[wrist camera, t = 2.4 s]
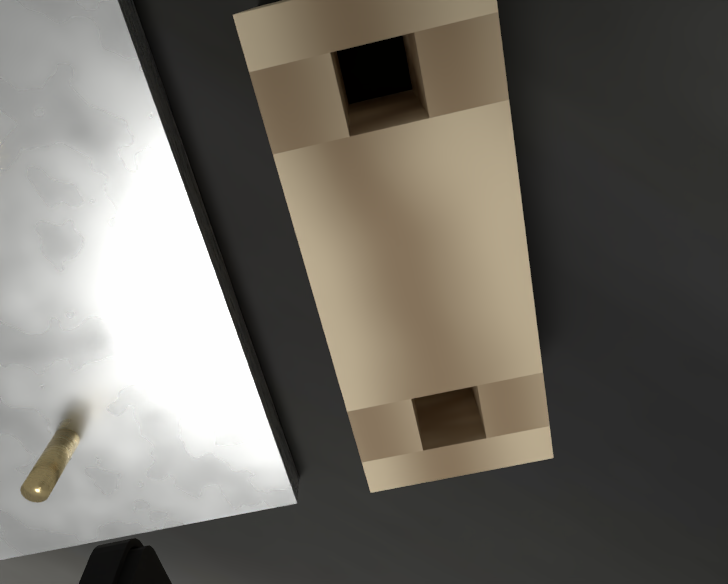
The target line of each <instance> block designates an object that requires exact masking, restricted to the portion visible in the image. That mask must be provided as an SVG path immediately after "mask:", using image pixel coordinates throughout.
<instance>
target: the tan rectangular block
mask: <svg viewBox="0 0 728 584" xmlns="http://www.w3.org/2000/svg"><path fill="white" fill-rule="evenodd" d="M233 18H234V21H235V25H236V28H237V32H238V35H239V39H240V42H241V46H242V49H243V52H244V56H245V59H246V63H247V66H248V70H249V73H250V77H251V80H252V84H253V87H254V91H255V94H256V97H257V101H258V104H259V108H260V111H261V115H262V118H263V122H264V125H265V129H266V132H267V136H268V139H269V142H270V146H271V149H272V153H273V156H274V160H275V163H276V167H277V170H278V174H279V177H280V181H281V184H282V187H283V191H284V194H285V198H286V201H287V205H288V208H289V212H290V215H291V219H292V222H293V226H294V229H295V232H296V236H297V239H298V243H299V246H300V250H301V253H302V257H303V260H304V264H305V267H306V271H307V274H308V277H309V281H310V284H311V288H312V291H313V295H314V298H315V302H316V305H317V309H318V312H319V316H320V319H321V322H322V326H323V329H324V333H325V336H326V340H327V343H328V347H329V350H330V354H331V357H332V361H333V364H334V367H335V371H336V374H337V378H338V381H339V385H340V388H341V392H342V395H343V399H344V402H345V406H346V409H347V412H348V416H349V419H350V423H351V426H352V430H353V433H354V437H355V440H356V444H357V447H358V451H359V454H360V457H361V461H362V464H363V468H364V471H365V475H366V478H367V482H368V485H369V489H370V492H371V493H372V492H377V491H382V490H388V489H393V488H398V487H403V486H409V485H414V484H419V483H424V482H430V481H435V480H440V479H445V478H451V477H456V476H461V475H466V474H472V473H477V472H482V471H487V470H493V469H498V468H503V467H508V466H514V465H519V464H524V463H529V462H535V461H540V460H545V459H550V458H553V450H552V442H551V434H550V426H549V418H548V410H547V402H546V394H545V386H544V377H543V369H542V361H541V353H540V345H539V337H538V329H537V321H536V313H535V305H534V297H533V289H532V281H531V273H530V265H529V256H528V248H527V240H526V232H525V224H524V216H523V208H522V200H521V192H520V184H519V176H518V168H517V160H516V152H515V144H514V136H513V127H512V119H511V111H510V103H509V95H508V87H507V79H506V71H505V63H504V55H503V47H502V39H501V31H500V23H499V15H498V7H497V0H282V1H278V2H274V3H270V4H266V5H262V6H258V7H255V8H252V9H249V10H246V11H243V12H240V13H237V14H234V15H233ZM401 35H402V36H403V41H404V47H405V52H406V58H407V63H408V68H409V74H410V79H411V84H412V90H407V91H403V92H399V93H395V94H390V95H386V96H382V97H378V98H373V99H369V100H365V101H361V102H356V103H352V104H349V103H348V98H347V94H346V90H345V85H344V81H343V77H342V72H341V68H340V64H339V59H338V55H337V51H339V50H343V49H347V48H352V47H356V46H360V45H364V44H368V43H372V42H376V41H380V40H385V39H389V38H393V37H397V36H401Z"/></svg>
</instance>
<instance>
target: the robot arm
mask: <svg viewBox="0 0 728 584" xmlns="http://www.w3.org/2000/svg"><path fill="white" fill-rule="evenodd" d="M79 584H172V583H171V581H170V579H169V577H168V576H167V574H166V572H165V570H164V568H163V566H162V564H161V562H160V560H159V558H158V556H157V554H156V552H155V551H154V549H153V548H152V547H151V546H143V545H142V543H141V542H140V541H139V540H138V539H136V538H134V539H128V540H123V541H118V542H113V543H108V544H103V545H98V546H97V547H96V548H95V549H94V550H93V552H92V554H91V555H90V558H89V560H88V563H87V565H86V568H85V570H84V572H83V575H82V577H81V580H80V582H79Z"/></svg>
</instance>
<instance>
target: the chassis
mask: <svg viewBox="0 0 728 584" xmlns="http://www.w3.org/2000/svg"><path fill="white" fill-rule="evenodd" d="M298 489H299V476H298V473H297V470H296V468H295V465H294V462H293V459H292V456H291V453H290V450H289V447H288V445H287V442H286V439H285V436H284V433H283V430H282V427H281V424H280V422H279V419H278V416H277V413H276V410H275V407H274V404H273V401H272V399H271V396H270V393H269V390H268V387H267V384H266V381H265V378H264V376H263V373H262V370H261V367H260V364H259V361H258V358H257V355H256V352H255V350H254V347H253V344H252V341H251V338H250V335H249V332H248V329H247V327H246V324H245V321H244V318H243V315H242V312H241V309H240V306H239V304H238V301H237V298H236V295H235V292H234V289H233V286H232V283H231V281H230V278H229V275H228V272H227V269H226V266H225V263H224V260H223V258H222V255H221V252H220V249H219V246H218V243H217V240H216V237H215V234H214V232H213V229H212V226H211V223H210V220H209V217H208V214H207V211H206V209H205V206H204V203H203V200H202V197H201V194H200V191H199V188H198V186H197V183H196V180H195V177H194V174H193V171H192V168H191V165H190V163H189V160H188V157H187V154H186V151H185V148H184V145H183V142H182V140H181V137H180V134H179V131H178V128H177V125H176V122H175V119H174V117H173V114H172V111H171V108H170V105H169V102H168V99H167V96H166V93H165V91H164V88H163V85H162V82H161V79H160V76H159V73H158V70H157V68H156V65H155V62H154V59H153V56H152V53H151V50H150V47H149V45H148V42H147V39H146V36H145V33H144V30H143V27H142V24H141V22H140V19H139V16H138V13H137V10H136V7H135V4H134V1H133V0H0V560H2V559H8V558H13V557H18V556H23V555H29V554H34V553H39V552H44V551H49V550H55V549H60V548H65V547H70V546H76V545H81V544H86V543H91V542H97V541H102V540H107V539H112V538H118V537H123V536H128V535H133V534H138V533H144V532H149V531H154V530H159V529H165V528H170V527H175V526H180V525H186V524H191V523H196V522H201V521H207V520H212V519H217V518H222V517H227V516H233V515H238V514H243V513H248V512H254V511H259V510H264V509H269V508H275V507H280V506H285V505H290V504H296V503H297V500H298Z"/></svg>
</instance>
